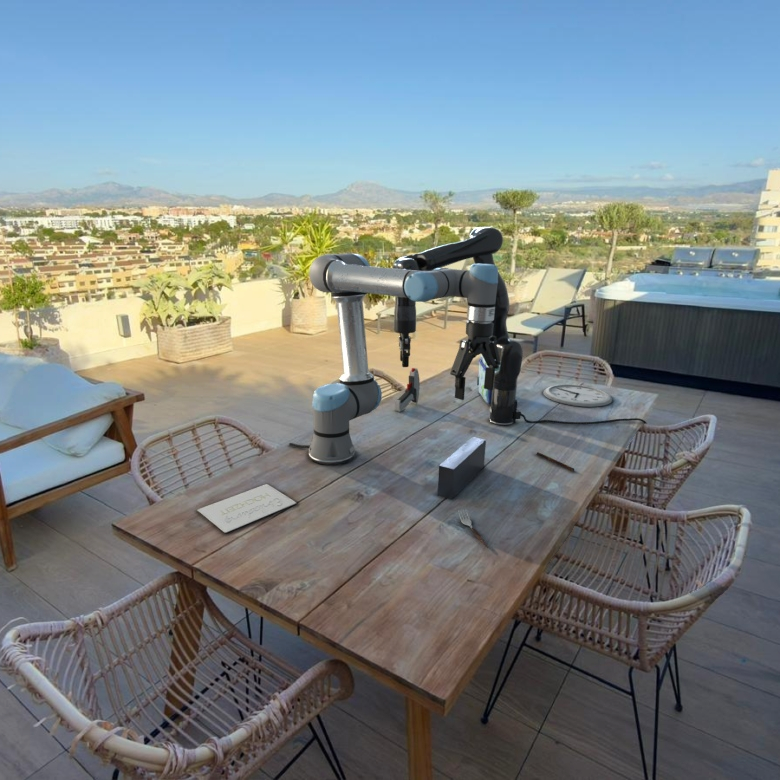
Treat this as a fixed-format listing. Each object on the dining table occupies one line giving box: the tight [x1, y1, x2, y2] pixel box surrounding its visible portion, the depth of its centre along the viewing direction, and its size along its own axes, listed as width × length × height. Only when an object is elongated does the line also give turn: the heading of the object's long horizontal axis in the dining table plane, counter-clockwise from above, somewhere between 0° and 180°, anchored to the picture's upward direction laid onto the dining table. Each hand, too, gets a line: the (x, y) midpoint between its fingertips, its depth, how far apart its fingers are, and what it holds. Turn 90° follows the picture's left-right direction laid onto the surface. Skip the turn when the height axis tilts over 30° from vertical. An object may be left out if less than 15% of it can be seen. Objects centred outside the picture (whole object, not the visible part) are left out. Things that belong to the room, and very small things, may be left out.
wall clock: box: [543, 384, 613, 408], centre depth 240 cm, size 30×2×30 cm
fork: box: [457, 509, 489, 549], centre depth 131 cm, size 3×16×2 cm, turn 15°
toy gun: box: [394, 367, 421, 413], centre depth 219 cm, size 2×16×15 cm
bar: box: [437, 436, 487, 500], centre depth 157 cm, size 25×4×9 cm, turn 149°
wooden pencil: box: [535, 451, 575, 472], centre depth 171 cm, size 15×1×1 cm, turn 34°
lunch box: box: [476, 354, 501, 406], centre depth 230 cm, size 26×11×21 cm, turn 179°
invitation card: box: [196, 483, 297, 534], centre depth 141 cm, size 21×1×15 cm
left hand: (474, 394), depth 151 cm, fingers open, 13 cm apart
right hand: (404, 363), depth 184 cm, fingers open, 8 cm apart
